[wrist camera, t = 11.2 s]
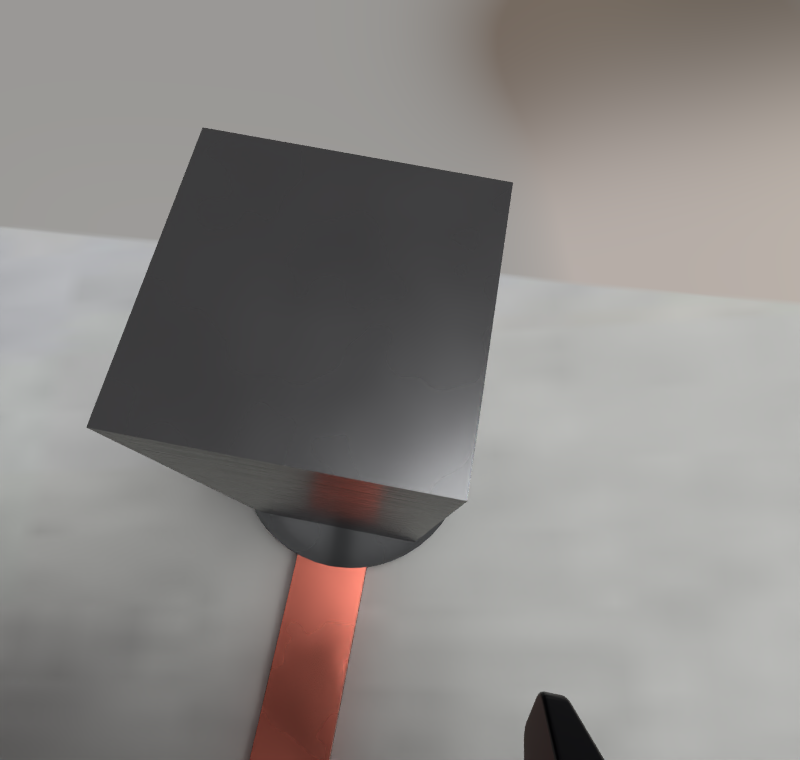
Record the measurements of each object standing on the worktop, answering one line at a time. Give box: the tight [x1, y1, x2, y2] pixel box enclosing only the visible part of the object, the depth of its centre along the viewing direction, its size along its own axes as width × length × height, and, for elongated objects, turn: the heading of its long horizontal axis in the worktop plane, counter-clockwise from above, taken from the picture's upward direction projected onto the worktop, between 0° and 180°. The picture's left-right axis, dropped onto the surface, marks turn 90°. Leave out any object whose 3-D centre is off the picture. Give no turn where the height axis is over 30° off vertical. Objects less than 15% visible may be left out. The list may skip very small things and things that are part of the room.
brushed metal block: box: [86, 128, 513, 542], centre depth 14 cm, size 5×5×12 cm
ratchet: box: [250, 509, 444, 760], centre depth 18 cm, size 18×8×4 cm, turn 170°
